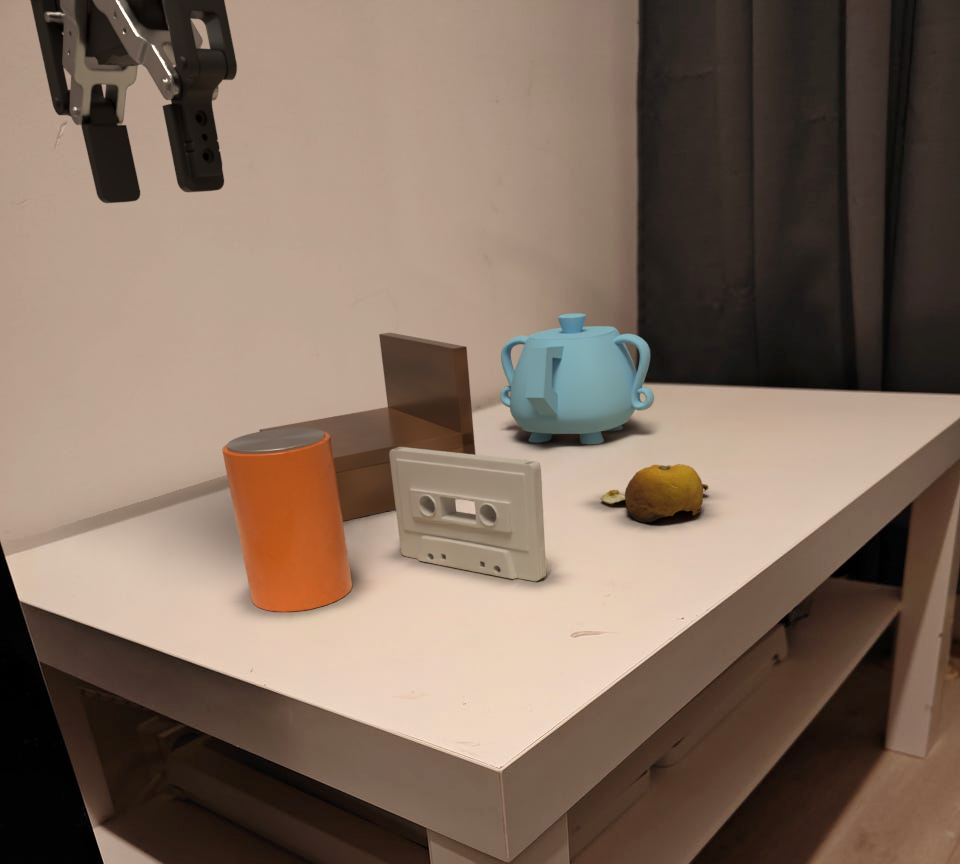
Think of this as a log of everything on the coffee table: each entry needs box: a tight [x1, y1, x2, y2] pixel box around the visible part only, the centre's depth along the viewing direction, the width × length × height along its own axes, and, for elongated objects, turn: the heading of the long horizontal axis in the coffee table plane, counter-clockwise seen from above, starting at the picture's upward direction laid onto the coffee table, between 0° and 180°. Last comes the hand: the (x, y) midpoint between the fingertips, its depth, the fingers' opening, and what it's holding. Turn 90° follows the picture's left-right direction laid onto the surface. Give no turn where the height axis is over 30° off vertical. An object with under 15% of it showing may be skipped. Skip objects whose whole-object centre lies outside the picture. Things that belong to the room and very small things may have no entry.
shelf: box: [258, 332, 476, 522], centre depth 81 cm, size 14×16×12 cm
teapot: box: [499, 312, 655, 445], centre depth 95 cm, size 20×17×12 cm
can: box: [221, 428, 353, 613], centre depth 60 cm, size 7×7×10 cm
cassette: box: [389, 447, 547, 582], centre depth 62 cm, size 12×2×8 cm, turn 53°
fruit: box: [600, 463, 709, 523], centre depth 71 cm, size 8×8×4 cm
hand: (159, 197), depth 49 cm, fingers open, 8 cm apart
